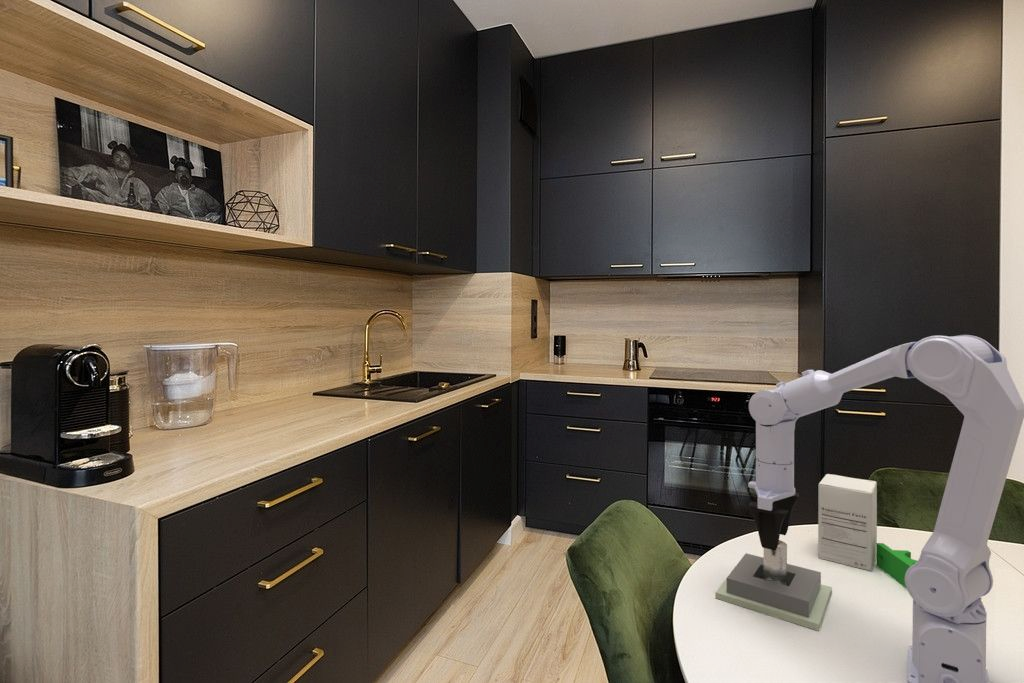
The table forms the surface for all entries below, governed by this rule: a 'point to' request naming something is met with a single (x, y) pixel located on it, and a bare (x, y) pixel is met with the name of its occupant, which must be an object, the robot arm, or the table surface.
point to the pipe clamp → (894, 562)
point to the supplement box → (847, 521)
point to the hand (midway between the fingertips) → (774, 540)
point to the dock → (777, 592)
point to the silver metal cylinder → (776, 564)
